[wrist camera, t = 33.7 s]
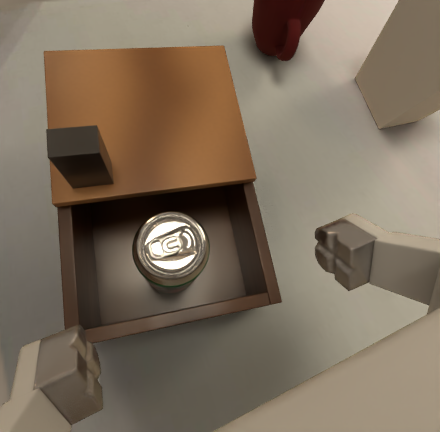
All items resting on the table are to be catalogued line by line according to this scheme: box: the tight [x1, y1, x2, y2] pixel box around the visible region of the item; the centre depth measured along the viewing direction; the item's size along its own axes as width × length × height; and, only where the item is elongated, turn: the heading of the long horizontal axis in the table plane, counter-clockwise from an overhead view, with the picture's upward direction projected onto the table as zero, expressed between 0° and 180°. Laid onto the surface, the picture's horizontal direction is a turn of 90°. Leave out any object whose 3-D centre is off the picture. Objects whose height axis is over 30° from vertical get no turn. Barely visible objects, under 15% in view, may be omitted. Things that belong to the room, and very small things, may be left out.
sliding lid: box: [44, 46, 256, 207], centre depth 24 cm, size 16×14×6 cm
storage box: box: [57, 182, 282, 343], centre depth 28 cm, size 16×14×8 cm
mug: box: [252, 0, 324, 61], centre depth 37 cm, size 10×8×10 cm
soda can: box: [132, 211, 210, 295], centre depth 25 cm, size 5×5×12 cm
